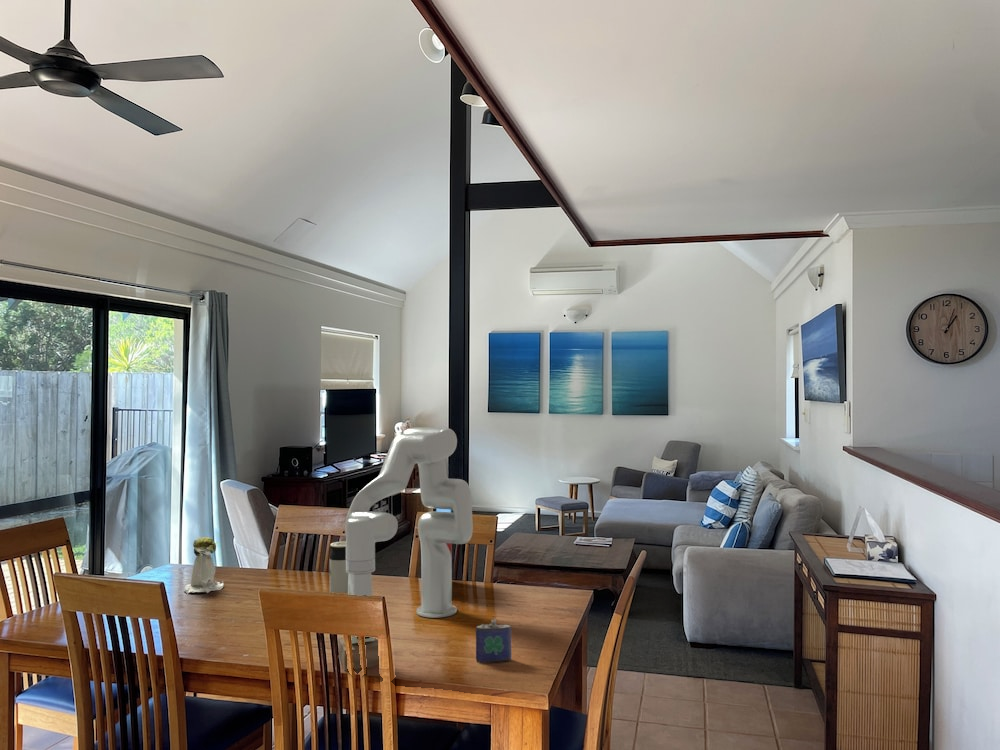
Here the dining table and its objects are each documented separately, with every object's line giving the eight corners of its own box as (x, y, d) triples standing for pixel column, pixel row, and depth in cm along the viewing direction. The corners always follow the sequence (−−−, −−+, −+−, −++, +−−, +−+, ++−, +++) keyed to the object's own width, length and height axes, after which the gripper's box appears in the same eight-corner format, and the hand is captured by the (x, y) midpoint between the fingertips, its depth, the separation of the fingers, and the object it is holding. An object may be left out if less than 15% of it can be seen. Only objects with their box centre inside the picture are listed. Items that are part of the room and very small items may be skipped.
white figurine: (176, 591, 262) (176, 539, 262) (206, 582, 273) (206, 532, 273) (199, 596, 256) (199, 542, 256) (229, 586, 267) (228, 535, 267)
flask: (510, 658, 194) (510, 617, 194) (512, 662, 191) (511, 620, 192) (475, 659, 193) (475, 618, 194) (476, 664, 191) (475, 622, 191)
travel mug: (356, 593, 257) (356, 541, 258) (349, 600, 249) (349, 546, 250) (334, 593, 258) (333, 541, 258) (326, 599, 250) (326, 545, 250)
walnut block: (338, 657, 196) (338, 638, 196) (376, 652, 200) (376, 633, 200) (344, 670, 187) (344, 650, 187) (384, 665, 190) (383, 645, 190)
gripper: (340, 559, 200) (341, 626, 200) (351, 574, 184) (352, 647, 184) (368, 556, 203) (368, 623, 203) (381, 571, 187) (382, 643, 187)
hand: (360, 633), depth 193 cm, fingers closed on sage block, 6 cm apart
